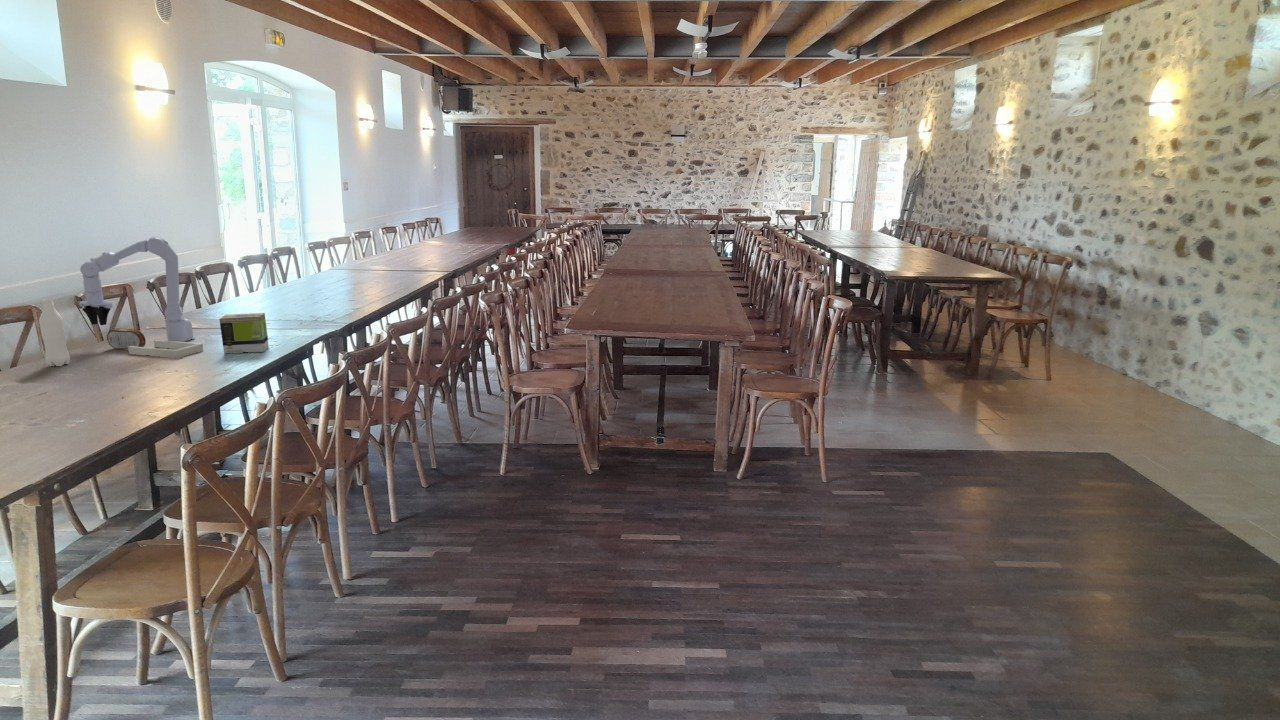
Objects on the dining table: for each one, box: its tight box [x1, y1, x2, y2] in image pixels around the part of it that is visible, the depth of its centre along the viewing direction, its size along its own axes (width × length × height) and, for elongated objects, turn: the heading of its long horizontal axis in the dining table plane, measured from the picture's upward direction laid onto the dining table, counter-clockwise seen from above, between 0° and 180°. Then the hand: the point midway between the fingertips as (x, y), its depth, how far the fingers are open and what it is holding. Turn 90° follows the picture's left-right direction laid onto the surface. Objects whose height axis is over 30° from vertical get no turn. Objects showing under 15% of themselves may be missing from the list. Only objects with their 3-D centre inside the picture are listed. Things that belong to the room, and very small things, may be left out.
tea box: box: [218, 312, 270, 355], centre depth 308 cm, size 15×10×15 cm, turn 105°
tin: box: [106, 327, 147, 350], centre depth 308 cm, size 15×3×8 cm, turn 84°
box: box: [128, 339, 204, 359], centre depth 304 cm, size 13×23×3 cm, turn 76°
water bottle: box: [38, 298, 71, 367], centre depth 280 cm, size 7×7×25 cm
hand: (99, 324), depth 310 cm, fingers open, 4 cm apart
